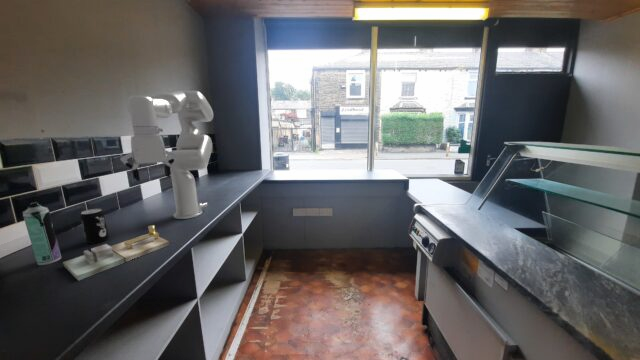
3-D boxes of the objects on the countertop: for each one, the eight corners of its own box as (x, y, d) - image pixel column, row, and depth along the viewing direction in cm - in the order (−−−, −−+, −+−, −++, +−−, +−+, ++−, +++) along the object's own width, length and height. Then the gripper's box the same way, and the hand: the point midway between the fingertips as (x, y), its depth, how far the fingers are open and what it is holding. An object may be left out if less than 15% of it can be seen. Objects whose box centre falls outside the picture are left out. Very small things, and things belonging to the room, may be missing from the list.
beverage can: (96, 245, 93) (88, 214, 90) (82, 243, 94) (74, 213, 91) (113, 237, 99) (107, 208, 96) (100, 236, 100) (93, 207, 98)
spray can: (65, 257, 84) (50, 200, 80) (43, 266, 79) (26, 206, 75) (55, 255, 86) (40, 199, 81) (33, 263, 81) (15, 204, 76)
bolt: (156, 236, 95) (154, 224, 94) (159, 237, 94) (157, 225, 93) (125, 246, 87) (122, 234, 86) (128, 248, 86) (125, 235, 85)
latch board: (151, 236, 99) (149, 225, 98) (169, 245, 92) (167, 233, 91) (64, 266, 79) (60, 253, 78) (78, 280, 71) (74, 266, 70)
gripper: (169, 131, 99) (175, 174, 103) (114, 132, 87) (122, 180, 91) (175, 131, 94) (181, 176, 98) (117, 132, 82) (126, 183, 85)
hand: (153, 178), depth 94 cm, fingers open, 9 cm apart
